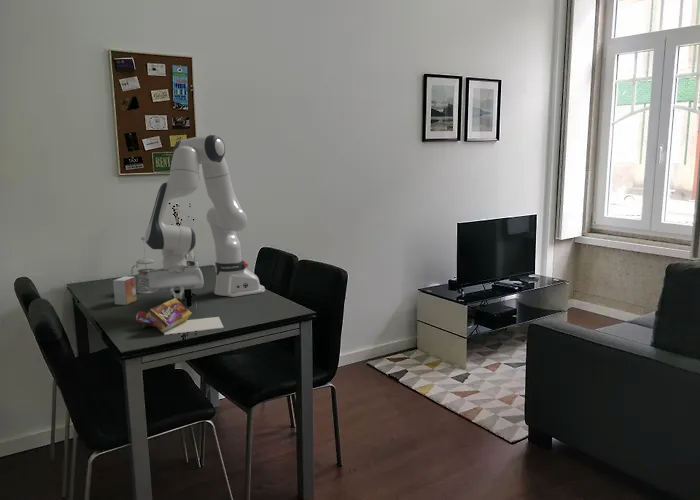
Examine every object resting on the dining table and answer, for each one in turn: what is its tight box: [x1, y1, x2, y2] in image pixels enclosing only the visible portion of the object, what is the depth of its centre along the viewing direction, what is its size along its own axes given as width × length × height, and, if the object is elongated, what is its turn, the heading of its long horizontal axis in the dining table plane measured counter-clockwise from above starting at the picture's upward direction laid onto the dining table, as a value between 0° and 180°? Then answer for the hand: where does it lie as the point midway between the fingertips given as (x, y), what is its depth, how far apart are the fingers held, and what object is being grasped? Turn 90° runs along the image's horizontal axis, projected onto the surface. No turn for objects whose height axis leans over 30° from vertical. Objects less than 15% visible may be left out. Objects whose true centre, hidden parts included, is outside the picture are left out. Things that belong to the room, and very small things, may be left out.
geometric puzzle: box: [135, 309, 156, 330], centre depth 208 cm, size 7×7×8 cm
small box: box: [112, 276, 138, 306], centre depth 242 cm, size 8×6×10 cm
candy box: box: [146, 297, 192, 333], centre depth 208 cm, size 9×4×15 cm
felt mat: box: [163, 316, 225, 336], centre depth 209 cm, size 20×14×1 cm
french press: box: [130, 236, 155, 295], centre depth 260 cm, size 10×12×25 cm
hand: (177, 298), depth 216 cm, fingers closed
